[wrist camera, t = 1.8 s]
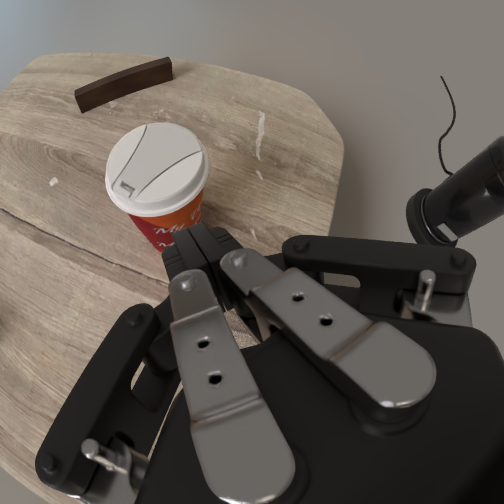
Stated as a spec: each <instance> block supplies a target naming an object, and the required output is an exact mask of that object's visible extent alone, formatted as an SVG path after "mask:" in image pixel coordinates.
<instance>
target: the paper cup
mask: <svg viewBox="0 0 504 504" xmlns="http://www.w3.org/2000/svg"><path fill="white" fill-rule="evenodd" d="M209 165H210V164H209V157H208V154H207V151H206V149H205V147H204V146H203V144H202V143H201V142H200V141H199V140H198V138H197V137H196V135H195V134H194V133H193V132H192V131H191V130H189V129H187V128H185V127H182V126H179V125H177V124H173V123H165V122H162V123H151V124H145V125H142V126H140V127H137V128H135V129H134V130H132V131H130V132H129V133H127V134H126V135H124V136H123V137H122V138H121V139H120V140H119V141H118V142H117V144H116V145H115V146H114V148H113V149H112V151H111V153H110V155H109V158H108V161H107V167H106V177H105V182H106V189H107V192H108V194H109V196H110V198H111V200H112V201H113V202H114V203H115V205H116V206H118V207H119V208H120V209H121V210H123V211H125V212H127V213H128V215H129V216H130V218H131V219H132V220H133V222H134V223H135V224H136V226H137V227H138V228H139V230H140V231H141V232H142V233H143V234H144V235H145V236H146V237H147V239H148V240H149V241H150V242H151V243H152V244H153V245H154V247H155V248H156V249H158V250H159V251H160V252H162V253H163V250H164V248H166V247H169V246H171V245H173V244H175V243H174V240H173V237H172V235H171V234H172V233H174V232H177V231H179V230H182V229H184V228H187V227H189V226H191V225H194V224H196V223H199V222H201V209H202V197H203V187H204V185H205V183H206V180H207V178H208V174H209ZM187 230H188V229H187Z"/></svg>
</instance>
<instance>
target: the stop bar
mask: <svg viewBox="0 0 504 504" xmlns="http://www.w3.org/2000/svg"><path fill="white" fill-rule="evenodd" d="M171 80H173V76H172V62H171V60H170V58H169V57H165V58H162V59H158V60H155V61H151V62H148V63H144V64H141V65H138V66H135V67H132V68H129V69H126V70H123V71H120V72H118V73H115V74H112V75H110V76H107V77H105V78H102V79H100V80H97V81H95V82H92V83H90V84H88V85H86V86H83V87H81V88H79V89H77V90H75V99H76V101H77V104H78V106H79V108H80V110H81V113H84V112H86V111H88V110H90V109H93V108H95V107H97V106H100V105H102V104H104V103H107V102H109V101H112V100H114V99H117V98H119V97H122V96H125V95H127V94H130V93H133V92H136V91H139V90H141V89H144V88H147V87H151V86H154V85H157V84H160V83H164V82H167V81H171Z"/></svg>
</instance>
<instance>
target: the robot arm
mask: <svg viewBox="0 0 504 504" xmlns="http://www.w3.org/2000/svg"><path fill="white" fill-rule="evenodd" d="M441 79H442V81H443V83H444V85H445V87H446V89H447V91H448V93H449V96H450V99H451V102H452V105H453V113H454V115H453V120H452V123H451V125H450V127H449V128H448V129H447V131H446V132H445V133H444V134H443V135H442V136H441V137H440V139H439V143H438V153H439V159H440V163H441V166H442V168H443V170H444V172H445V173H446V174H448V175H450V176H449V177H448V178H447V179H446V180H445V181H444V182H443V183H442V184H441V185H439V186H438V187H436V188H435V189H434V190H432V191H431V192H430V193H428V194H426V195H425V196H423V198H422V199H421V201H420V215H421V219H422V222H423V225H424V227H425V229H426V230H427V232H428V233H429V235H430V236H431V237H432V238H433V239H434V240H435V241H436V242H438V243H440V244H442V245H448V244H450V243H452V242H453V241H455V240H457V239H459V238H460V237H463V236H465V235H467V234H469V233H471V232H472V231H474V230H476V229H478V228H480V227H482V226H484V225H486V224H487V223H489V222H491V221H493V220H495V219H496V218H498V217H500V216H502V215H504V136H500V137H498V138H497V139H496V140H495V141H493V142H492V143H491V144H490V145H489V146H488V147H487V148H485V149H484V150H483V151H482V152H480V153H479V154H478V155H477V156H476V157H475V158H473V159H472V160H471V161H470V162H468V163H467V164H466V165H465V166H463V167H462V168H461V169H460V170H458V171H457V172H456V173H455V174H453V173H451V172H449V171H447V169H446V168H445V165H444V163H443V159H442V154H441V142H442V139H443V138H444V137H445V136H446V135H447V134H448V133H449V131H450V130H451V129H452V127H453V125H454V121H455V117H456V111H455V105H454V102H453V99H452V96H451V94H450V92H449V90H448V87H447V85H446V83H445V81H444V79H443V77H442V76H441ZM187 229H188V230H187ZM171 235H172V237H173V240H174V243H175V244H173V245H171V246H169V247H166V248H164V250H163V253H162V259H163V262H164V265H165V268H166V271H167V275H168V278H169V281H170V283H169V286H168V290H169V296H168V297H167V298H166V299H165V300H164V301H163V302H162V303H161V304H160V305H158V306H157V307H155V308H154V309H153V307H152V306H151V305H149V304H145V303H141V304H137V305H134V306H132V307H130V308H128V309H127V310H125V311H124V312H123V313H122V314H121V316H120V317H119V318H118V320H117V321H116V323H115V324H114V325H113V327H112V328H111V330H110V331H109V333H108V334H107V336H106V337H105V339H104V340H103V342H102V343H101V345H100V346H99V348H98V349H97V351H96V352H95V354H94V355H93V357H92V358H91V360H90V362H89V363H88V365H87V366H86V368H85V369H84V371H83V373H82V374H81V376H80V378H79V379H78V381H77V382H76V384H75V386H74V387H73V389H72V391H71V392H70V394H69V396H68V397H67V399H66V401H65V403H64V404H63V406H62V408H61V410H60V411H59V413H58V415H57V417H56V418H55V420H54V422H53V424H52V426H51V428H50V429H49V431H48V433H47V435H46V437H45V439H44V441H43V443H42V445H41V447H40V449H39V451H38V453H37V455H36V460H35V469H36V473H37V475H38V477H39V479H40V480H41V481H42V482H43V483H44V484H45V485H47V486H49V487H51V488H54V489H56V490H58V491H61V492H63V493H65V494H66V495H68V496H70V497H73V498H76V499H79V500H81V501H83V502H84V503H86V504H504V360H503V358H502V356H501V353H500V352H499V349H498V347H497V346H496V344H495V343H494V342H493V341H492V339H491V338H490V337H489V336H487V335H486V334H484V333H483V332H482V331H480V330H478V329H475V328H473V327H472V318H471V311H470V304H469V298H468V290H469V287H470V284H471V281H472V278H473V275H474V272H475V268H476V260H475V258H474V257H473V256H472V255H471V254H470V253H469V252H467V251H465V250H463V249H460V248H454V247H444V246H434V245H424V244H414V243H403V242H391V241H380V240H368V239H356V238H342V237H329V236H316V235H298V236H294V237H291V238H289V239H288V240H286V241H285V242H284V243H283V245H282V252H283V253H279V254H274V255H269V256H262V255H261V254H260V253H258V252H257V251H256V250H254V249H250V248H243V247H242V246H241V245H240V244H239V243H238V242H237V240H236V239H235V238H233V236H232V235H231V234H230V233H229V232H228V231H227V230H226V229H224V228H221V227H214V228H212V229H210V230H209V229H208V227H207V226H206V225H205V224H204V223H203V221H201V222H199V223H196V224H194V225H191V226H189V227H187V228H184V229H182V230H179V231H177V232H174V233H172V234H171ZM324 272H326V273H335V274H344V275H351V276H354V277H356V278H357V279H358V280H359V281H360V284H361V285H360V287H359V288H354V287H346V286H337V285H330V284H324ZM223 304H224V305H223ZM224 306H225V308H226V309H227V311H228V310H231V309H233V308H234V309H235V311H236V313H237V316H238V319H239V321H240V323H241V324H242V326H243V327H244V328H245V329H246V331H247V332H248V333H249V334H250V335H251V337H252V338H253V339H254V340H255V342H256V343H257V344H258V345H254V346H251V347H247V348H243V349H239V347H238V345H237V342H236V340H235V338H234V336H233V334H232V331H231V329H230V327H229V325H228V322H227V320H226V318H225V316H224V312H226V311H225V308H224ZM142 361H143V363H144V364H145V366H144V368H143V370H142V372H141V374H140V375H139V377H138V379H137V381H136V383H135V385H134V387H133V389H132V391H131V381H132V378H133V376H134V375H135V373H136V371H137V369H138V367H139V365H140V364H141V362H142ZM180 381H182V385H183V389H182V390H181V391H180V392H179V393H178V395H177V396H176V397H175V399H174V401H173V403H172V405H171V407H170V409H169V412H168V414H167V417H166V419H165V422H164V425H163V427H162V430H161V432H160V435H159V438H158V440H157V443H156V445H155V448H154V451H153V453H152V456H151V459H150V461H149V460H148V458H147V457H148V455H149V453H150V450H151V448H152V445H153V443H154V441H155V438H156V436H157V434H158V431H159V429H160V427H161V425H162V422H163V420H164V418H165V415H166V413H167V411H168V408H169V406H170V404H171V402H172V399H173V397H174V395H175V392H176V390H177V388H178V386H179V383H180Z"/></svg>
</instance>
